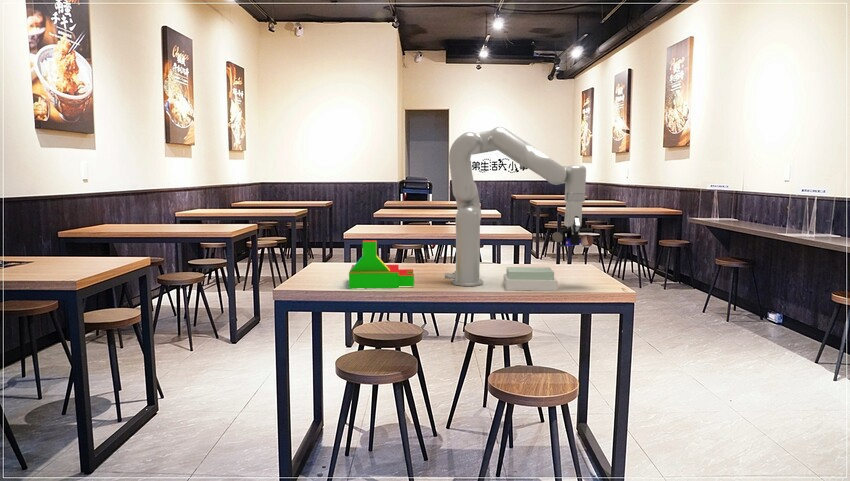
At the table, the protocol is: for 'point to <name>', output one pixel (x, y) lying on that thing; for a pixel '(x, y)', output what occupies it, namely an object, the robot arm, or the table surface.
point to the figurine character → (558, 237)
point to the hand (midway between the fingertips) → (572, 243)
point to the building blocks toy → (377, 271)
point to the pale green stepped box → (530, 279)
